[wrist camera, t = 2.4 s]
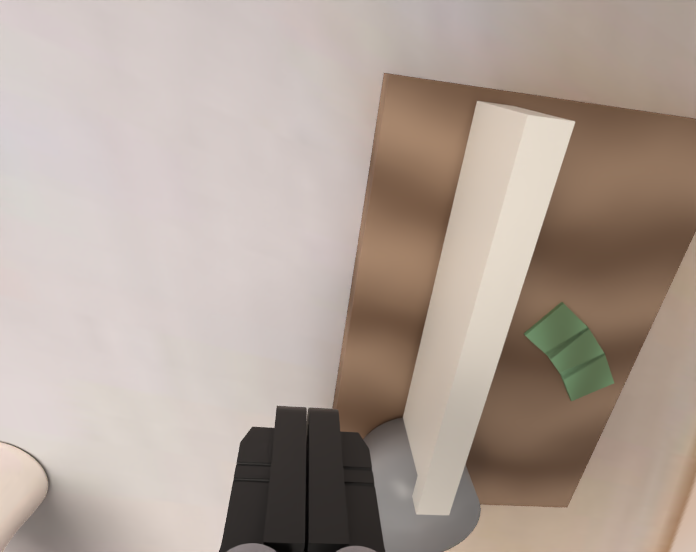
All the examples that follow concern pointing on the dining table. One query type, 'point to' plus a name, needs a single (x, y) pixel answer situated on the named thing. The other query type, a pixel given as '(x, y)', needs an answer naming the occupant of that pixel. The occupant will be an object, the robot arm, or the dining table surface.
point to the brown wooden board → (539, 285)
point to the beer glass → (18, 490)
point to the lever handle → (466, 327)
